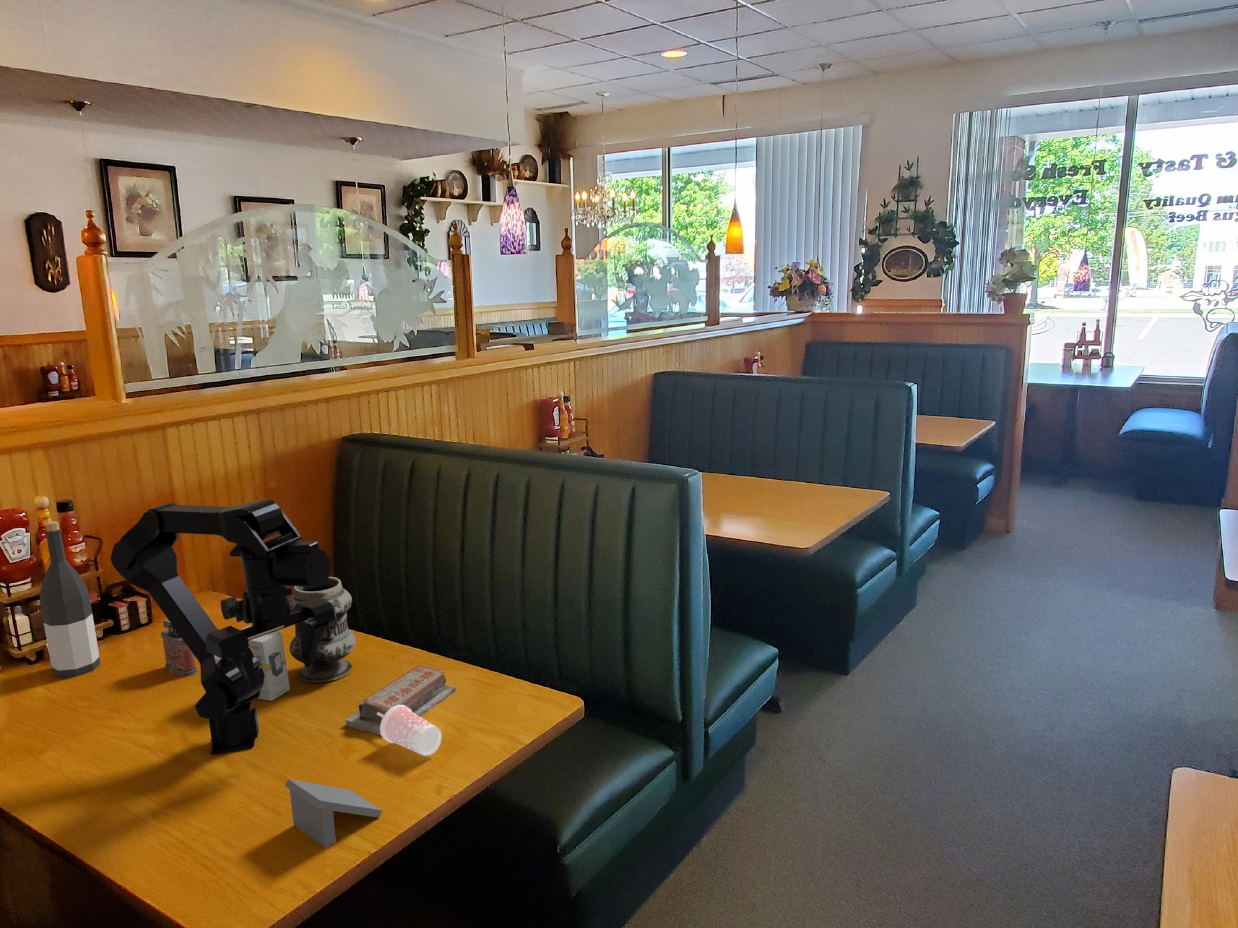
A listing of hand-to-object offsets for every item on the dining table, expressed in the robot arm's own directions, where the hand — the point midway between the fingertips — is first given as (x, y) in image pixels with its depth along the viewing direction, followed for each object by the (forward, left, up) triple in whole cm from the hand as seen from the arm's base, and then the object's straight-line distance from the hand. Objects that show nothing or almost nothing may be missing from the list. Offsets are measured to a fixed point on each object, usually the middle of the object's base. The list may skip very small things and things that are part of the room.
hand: (280, 677), depth 136 cm
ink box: (-6, +24, -13) cm, 28 cm away
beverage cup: (+22, -10, -10) cm, 26 cm away
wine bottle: (-42, +48, -13) cm, 65 cm away
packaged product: (+18, +9, -14) cm, 24 cm away
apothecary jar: (+5, +29, -13) cm, 32 cm away
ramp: (+7, -22, -13) cm, 26 cm away
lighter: (-22, +40, -13) cm, 47 cm away
